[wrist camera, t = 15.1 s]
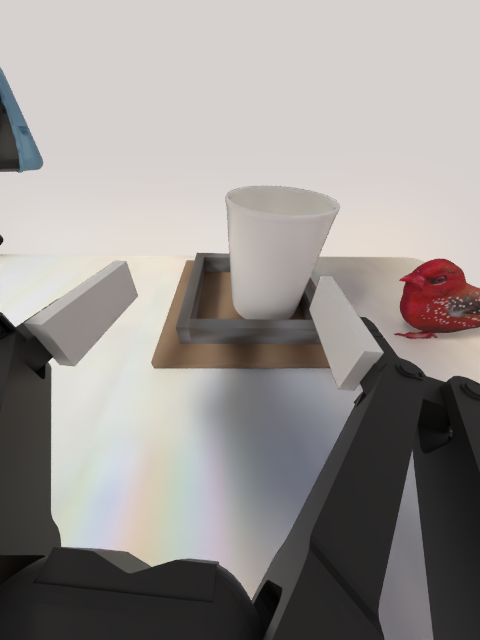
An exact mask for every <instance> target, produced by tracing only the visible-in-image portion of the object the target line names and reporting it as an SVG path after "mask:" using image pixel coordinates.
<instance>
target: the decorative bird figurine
mask: <svg viewBox="0 0 480 640" xmlns="http://www.w3.org/2000/svg"><path fill="white" fill-rule="evenodd" d="M399 281H405V282H406V283H405V286H404V289H403V295H402V298H401V301H400V312H401V314H402V316H403V318H404V320H405V321H406V322H407V323H409V324H410V325H411V326H413V327H414V328H416V329H419V330H422V332H418V333H412V332H409V333H406V334H401V333H397V334H395V335H402V336H406V337H408V338H431V336H433V337H435V338H437V336H436V335H434V334H433V333H450V332H456V331H461V330H466V329H471V328H478V327H480V288H477V287H474V286H471V285H470V284H468V283H466V280H465V276H464V273H463V271H462V270H461V269H460V268H459V267H458V266H456V265H455V264H454V263H452V262H451V261H449V260H446V259H434V260H431V261H428V262H426V263H424V264H422V265H420V266H419V267H417V268H416V269H415V270H414V271H413V272H412V273H410V274H409V275H406V276H404V277H403V278H401V279H400V280H399ZM429 336H430V337H429Z"/></svg>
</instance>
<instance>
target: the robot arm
mask: <svg viewBox="0 0 480 640" xmlns="http://www.w3.org/2000/svg"><path fill="white" fill-rule="evenodd" d="M42 166H43V160H42V157H41V155H40V153H39V150H38V148H37V146H36V144H35V141H34V139H33V137H32V135H31V133H30V130H29V128H28V126H27V124H26V121H25V119H24V117H23V115H22V112H21V110H20V108H19V106H18V104H17V102H16V99H15V97H14V95H13V93H12V90H11V88H10V86H9V84H8V82H7V80H6V77H5V75H4V73H3V71H2V69H1V68H0V172H10V171H11V172H13V171H16V172H23V171H26V170H37V169H40V168H41V167H42ZM2 242H3V238H2V237H1V235H0V245H1V244H2ZM137 297H138V294H137V291H136V288H135V285H134V283H133V280H132V277H131V274H130V271H129V268H128V265H127V262H126V261H114V262H112V263H111V264H109V265H108V266H107V267H105V268H104V269H102V270H101V271H99V272H98V273H96V274H95V275H93V276H92V277H90V278H89V279H87V280H86V281H84V282H83V283H82V284H80V285H79V286H77V287H76V288H74V289H73V290H71V291H70V292H68V293H67V294H65V295H64V296H62V297H61V298H59V299H57V300H55V301H54V302H52V303H51V304H49V306H46V307H45V308H44V309H42V311H39V312H38V313H36V314H35V315H33V316H32V317H30V318H29V319H27V320H26V321H24V322H23V323H21V324H20V325H18V326H17V327H15V326H14V325H13V324H12V323H11V322H10V321H9V320H8V319H7V318H6V317H5V316H4V315H3V313H1V312H0V640H384V635H383V632H382V628H381V625H380V621H379V614H378V608H379V600H380V595H381V591H382V586H383V581H384V577H385V572H386V568H387V563H388V558H389V554H390V549H391V544H392V540H393V535H394V531H395V526H396V521H397V517H398V512H399V507H400V503H401V498H402V494H403V489H404V484H405V480H406V475H407V470H408V466H409V461H410V457H411V452H412V450H413V459H414V468H415V477H416V486H417V495H418V503H419V512H420V521H421V530H422V539H423V548H424V557H425V566H426V575H427V584H428V593H429V602H430V611H431V620H432V629H433V638H434V640H480V384H479V383H477V382H475V381H473V380H471V379H469V378H465V377H461V376H453V377H452V378H450V379H449V380H448V381H447V382H443V381H440V380H437V379H434V378H430V377H427V376H426V375H425V374H424V372H423V371H422V370H421V369H420V368H419V367H417V366H416V365H415V364H413V363H411V362H409V361H407V360H404V359H401V358H399V357H398V356H397V355H396V353H395V352H394V350H393V349H392V348H391V346H390V345H389V344H388V342H387V341H386V340H385V338H383V336H382V334H381V333H380V332H379V330H378V329H377V327H376V326H375V325H374V324H373V323H372V322H371V321H370V320H368V319H367V318H366V317H359V315H358V314H357V312H356V311H355V309H354V308H353V306H352V305H351V304H350V302H349V301H348V299H347V298H346V296H345V295H344V293H343V292H342V290H341V289H340V287H339V286H338V284H337V283H336V281H335V280H334V278H333V277H331V276H320V279H319V282H318V285H317V288H316V291H315V294H314V297H313V300H312V303H311V306H310V309H309V310H310V313H311V316H312V318H313V321H314V324H315V326H316V329H317V332H318V335H319V337H320V340H321V343H322V346H323V348H324V351H325V354H326V357H327V359H328V362H329V365H330V368H331V370H332V373H333V376H334V379H335V381H336V384H337V387H338V389H343V390H355V389H356V387H357V386H358V385H359V384H360V385H361V387H362V389H363V392H362V393H361V394H360V395H359V397H358V398H357V399H356V400H355V401H354V403H355V406H354V408H353V410H352V412H351V414H350V416H349V418H348V419H347V421H346V423H345V425H344V427H343V429H342V431H341V433H340V435H339V437H338V439H337V441H336V443H335V445H334V447H333V449H332V451H331V453H330V455H329V457H328V459H327V461H326V463H325V465H324V467H323V468H322V470H321V472H320V474H319V476H318V478H317V480H316V482H315V484H314V486H313V488H312V490H311V492H310V494H309V496H308V498H307V500H306V502H305V504H304V506H303V508H302V510H301V512H300V514H299V516H298V517H297V519H296V521H295V523H294V525H293V527H292V529H291V531H290V533H289V535H288V537H287V539H286V540H285V542H284V544H283V545H282V546H281V548H280V549H279V550H278V552H277V554H276V555H275V557H274V559H273V561H272V562H271V564H270V566H269V568H268V570H267V572H266V574H265V576H264V578H263V580H262V582H261V583H260V585H259V587H258V589H257V591H256V593H255V595H254V597H253V599H252V601H251V599H250V598H249V596H248V594H247V592H246V591H245V589H244V588H243V586H242V585H241V583H240V582H239V581H238V580H237V579H236V578H235V576H234V575H232V574H231V573H230V572H229V571H228V570H227V569H225V568H223V567H222V566H220V565H219V562H217V561H208V560H198V559H180V560H174V561H171V562H167V563H164V564H161V565H157V566H154V567H151V566H149V565H148V564H146V563H145V562H143V561H141V560H140V559H138V558H136V557H135V556H133V555H132V554H130V553H128V552H124V551H114V550H105V549H93V548H71V547H61V539H60V533H59V530H58V527H57V525H56V524H55V522H54V521H53V519H52V515H51V366H50V364H49V363H48V361H49V360H50V359H52V358H54V359H55V360H56V361H57V362H58V364H59V365H65V366H75V365H76V364H77V363H78V362H79V361H80V360H81V359H82V358H83V357H84V355H85V354H86V353H87V352H88V351H89V350H90V349H91V348H92V347H93V345H94V344H95V343H96V342H97V341H98V340H99V339H100V338H101V337H102V335H103V334H104V333H105V332H106V331H107V330H108V329H109V328H110V327H111V325H112V324H113V323H114V322H115V321H116V320H117V319H118V318H119V317H120V315H121V314H122V313H123V312H124V311H125V310H126V309H127V308H128V307H129V305H130V304H131V303H132V302H133V301H134V300H135V299H136V298H137Z"/></svg>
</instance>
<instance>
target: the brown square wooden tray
mask: <svg viewBox="0 0 480 640" xmlns="http://www.w3.org/2000/svg"><path fill="white" fill-rule="evenodd" d="M315 291H316V287H315V285H314V283H313V281H312V280H311V278H309V281H308V283H307V286H306V288H305V290H304V293H303V295H302V297H301V300H300V302H299V304H298V307H297V309H296V311H295V313H294V314H293V316H292V317H291V318H290V319H288V320H269V319H245V318H243V317H242V316H240V315H239V314H238V313H237V311H236V310H235V308H234V306H233V301H232V290H231V273H230V255H229V254H216V253H197V255H196V258H195V261H190V260H187V261H186V264H185V267H184V270H183V273H182V276H181V278H180V281H179V284H178V287H177V290H176V293H175V296H174V299H173V301H172V304H171V307H170V310H169V313H168V316H167V319H166V322H165V324H164V327H163V330H162V333H161V336H160V339H159V342H158V345H157V347H156V350H155V353H154V356H153V359H152V362H151V363H152V365H153V367H154V368H330V365H329V362H328V359H327V357H326V354H325V351H324V348H323V346H322V343H321V340H320V337H319V335H318V332H317V329H316V326H315V324H314V321H313V318H312V316H311V313H310V310H309V309H310V306H311V303H312V300H313V297H314V294H315Z"/></svg>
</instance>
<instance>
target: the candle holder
mask: <svg viewBox="0 0 480 640" xmlns="http://www.w3.org/2000/svg"><path fill="white" fill-rule="evenodd" d="M226 206H227V220H228V237H229V255H230V273H231V290H232V301H233V306H234V308H235V310H236V311H237V313H238V314H239V315H240V316H242V317H243V318H245V319H269V320H288V319H290V318H291V317H292V316H293V314H294V313H295V311H296V309H297V307H298V304H299V302H300V300H301V297H302V295H303V293H304V290H305V288H306V286H307V283H308V281H309V278H310V276H311V274H312V271H313V269H314V266H315V264H316V262H317V259H318V257H319V254H320V252H321V250H322V247H323V245H324V243H325V240H326V238H327V235H328V233H329V230H330V228H331V226H332V223H333V221H334V219H335V217H336V215H337V214H338V212H339V208H340V206H339V204H338V202H337V201H336V200H334V199H333V198H331V197H329V196H326V195H323V194H320V193H317V192H313V191H309V190H304V189H298V188H291V187H281V186H251V187H250V186H249V187H243V188H237V189H234V190H232V191H230V192H228V193H227V195H226Z"/></svg>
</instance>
